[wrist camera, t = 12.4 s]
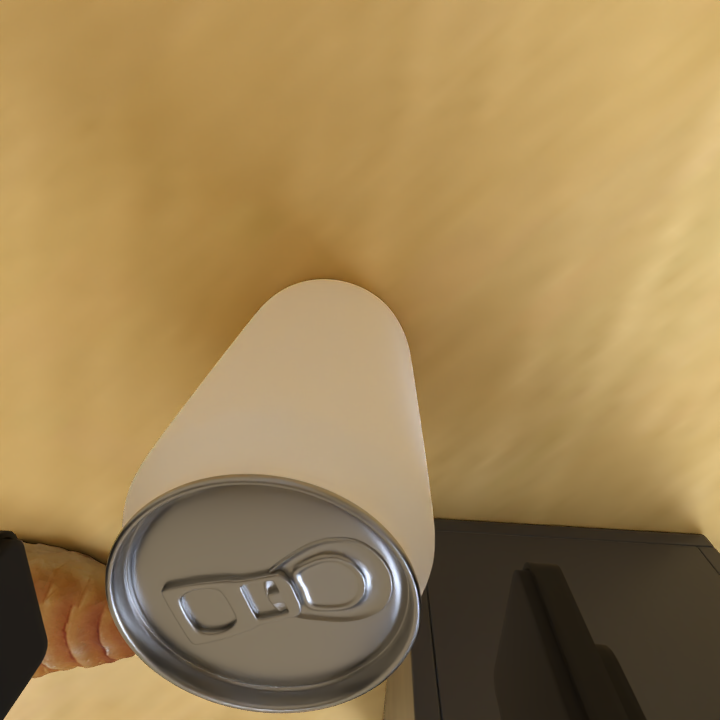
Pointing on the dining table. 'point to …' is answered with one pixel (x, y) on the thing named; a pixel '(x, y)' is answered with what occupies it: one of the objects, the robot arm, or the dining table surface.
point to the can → (284, 513)
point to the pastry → (73, 610)
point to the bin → (595, 601)
